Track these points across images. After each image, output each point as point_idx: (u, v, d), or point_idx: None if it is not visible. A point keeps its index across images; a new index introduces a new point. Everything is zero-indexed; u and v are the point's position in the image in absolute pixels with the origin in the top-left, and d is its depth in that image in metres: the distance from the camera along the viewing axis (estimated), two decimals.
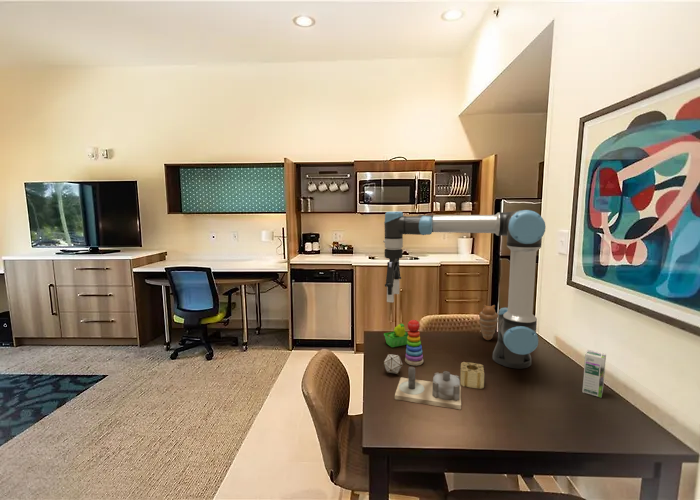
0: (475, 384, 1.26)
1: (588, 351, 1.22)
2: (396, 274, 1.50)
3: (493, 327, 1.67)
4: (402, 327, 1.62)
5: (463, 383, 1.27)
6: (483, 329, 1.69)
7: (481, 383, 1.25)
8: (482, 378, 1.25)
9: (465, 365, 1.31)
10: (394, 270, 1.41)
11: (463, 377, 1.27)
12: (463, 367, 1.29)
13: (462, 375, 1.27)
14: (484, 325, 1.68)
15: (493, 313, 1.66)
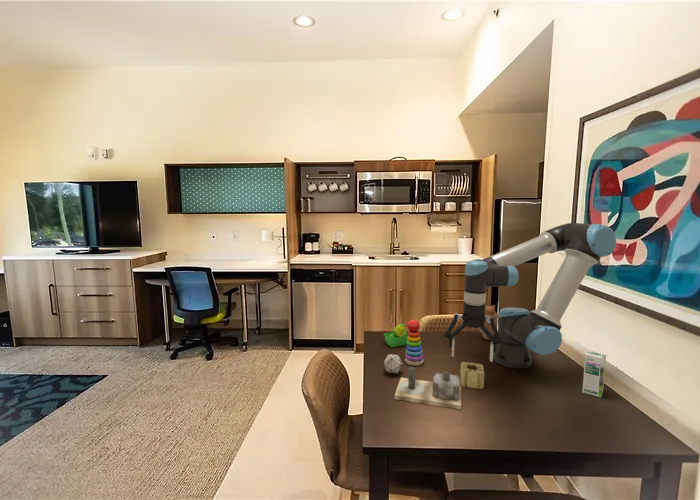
0: (475, 384, 1.26)
1: (588, 351, 1.22)
2: (488, 336, 1.26)
3: None
4: (402, 327, 1.62)
5: (463, 383, 1.27)
6: None
7: (481, 383, 1.25)
8: (482, 378, 1.25)
9: (465, 365, 1.31)
10: (462, 325, 1.27)
11: (463, 377, 1.27)
12: (463, 367, 1.29)
13: (462, 375, 1.27)
14: None
15: (493, 313, 1.66)
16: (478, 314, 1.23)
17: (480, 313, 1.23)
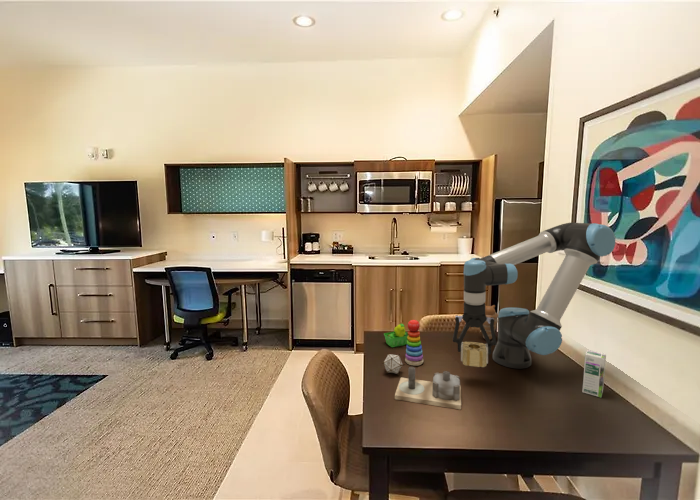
0: (477, 363, 1.25)
1: (588, 351, 1.22)
2: None
3: None
4: (402, 327, 1.62)
5: (465, 362, 1.26)
6: None
7: (483, 361, 1.24)
8: (484, 356, 1.24)
9: (467, 344, 1.30)
10: (465, 326, 1.27)
11: (465, 356, 1.26)
12: (465, 346, 1.28)
13: (464, 354, 1.26)
14: (484, 325, 1.68)
15: (493, 313, 1.66)
16: (478, 313, 1.23)
17: (480, 312, 1.23)
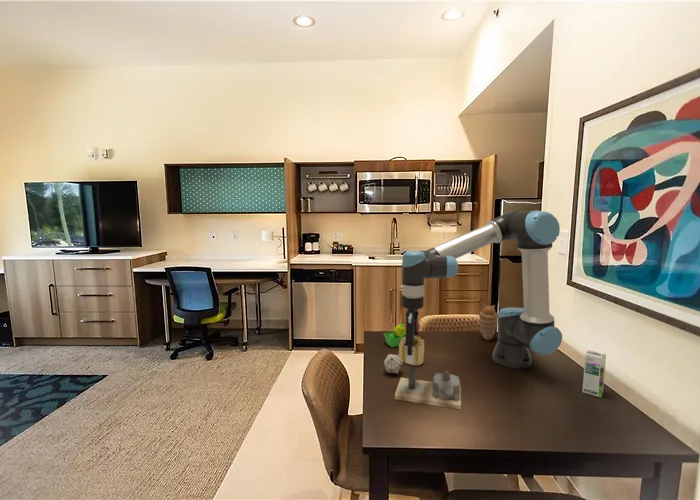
0: None
1: (588, 351, 1.22)
2: (414, 328, 1.24)
3: (493, 327, 1.67)
4: (402, 327, 1.62)
5: (421, 360, 1.18)
6: (483, 329, 1.69)
7: None
8: None
9: None
10: (414, 324, 1.17)
11: (421, 353, 1.18)
12: None
13: (420, 352, 1.18)
14: (484, 325, 1.68)
15: (493, 313, 1.66)
16: None
17: None
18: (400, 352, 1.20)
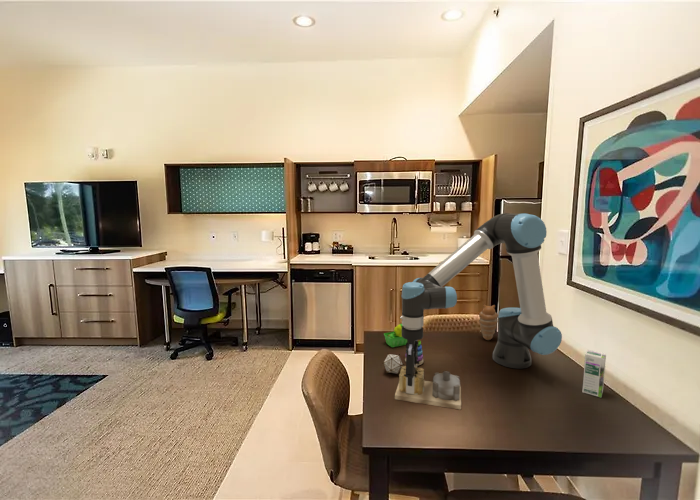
0: (423, 383, 1.24)
1: (588, 351, 1.22)
2: (414, 357, 1.26)
3: (493, 327, 1.67)
4: None
5: (421, 390, 1.20)
6: (483, 329, 1.69)
7: None
8: None
9: None
10: (414, 355, 1.19)
11: (421, 384, 1.19)
12: None
13: (420, 383, 1.19)
14: (484, 325, 1.68)
15: (493, 313, 1.66)
16: None
17: None
18: (400, 382, 1.21)
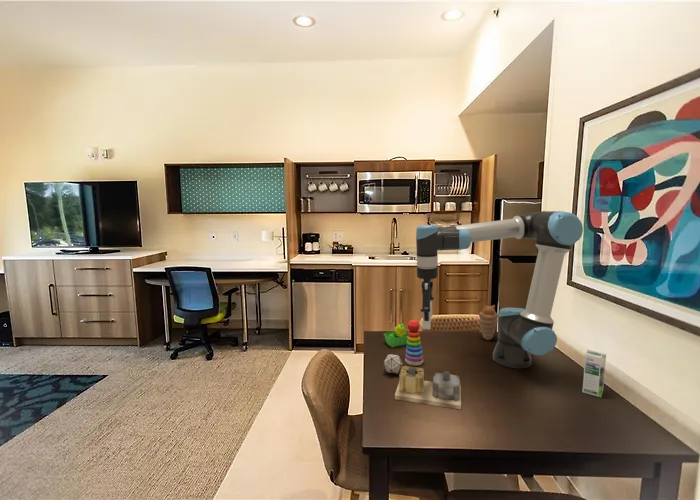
0: (423, 384, 1.24)
1: (588, 351, 1.22)
2: None
3: (493, 327, 1.67)
4: (402, 327, 1.62)
5: (421, 390, 1.20)
6: (483, 329, 1.69)
7: None
8: None
9: (408, 374, 1.21)
10: (430, 292, 1.24)
11: (421, 384, 1.19)
12: (413, 376, 1.20)
13: (420, 383, 1.19)
14: (484, 325, 1.68)
15: (493, 313, 1.66)
16: None
17: None
18: (400, 382, 1.21)
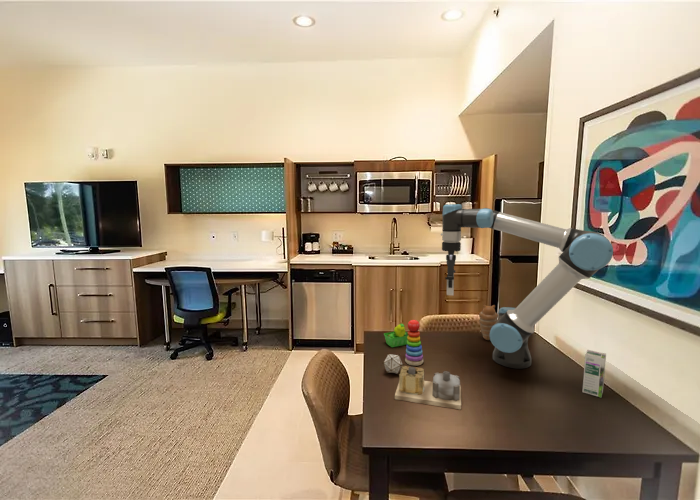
0: (423, 384, 1.24)
1: (588, 351, 1.22)
2: None
3: None
4: (402, 327, 1.62)
5: (421, 390, 1.20)
6: (483, 329, 1.69)
7: None
8: None
9: (408, 374, 1.21)
10: (453, 263, 1.40)
11: (421, 384, 1.19)
12: (413, 376, 1.20)
13: (420, 383, 1.19)
14: (484, 325, 1.68)
15: (493, 313, 1.66)
16: None
17: None
18: (400, 382, 1.21)
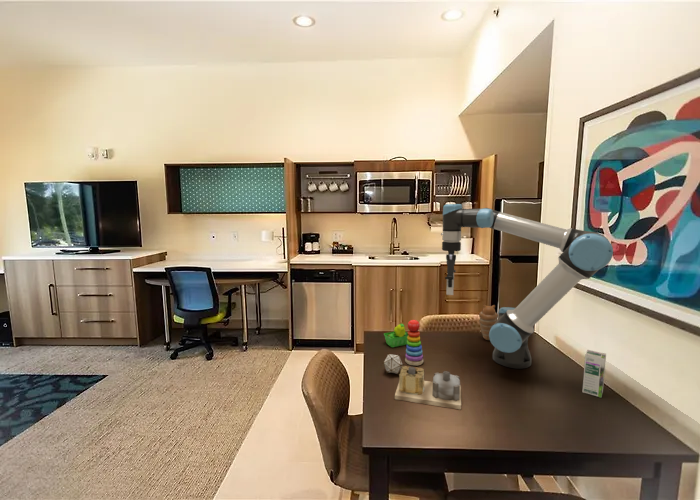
0: (423, 384, 1.24)
1: (588, 351, 1.22)
2: None
3: None
4: (402, 327, 1.62)
5: (421, 390, 1.20)
6: (483, 329, 1.69)
7: None
8: None
9: (408, 374, 1.21)
10: (453, 263, 1.40)
11: (421, 384, 1.19)
12: (413, 376, 1.20)
13: (420, 383, 1.19)
14: (484, 325, 1.68)
15: (493, 313, 1.66)
16: None
17: None
18: (400, 382, 1.21)
